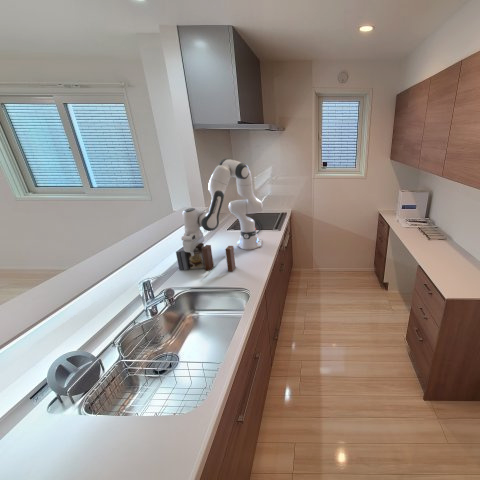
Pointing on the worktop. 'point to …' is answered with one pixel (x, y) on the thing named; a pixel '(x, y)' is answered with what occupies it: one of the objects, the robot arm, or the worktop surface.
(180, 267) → the grey books
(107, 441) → the worktop surface
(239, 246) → the robot arm
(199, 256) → the coffee box
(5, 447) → the worktop surface
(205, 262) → the brown wooden bookends
